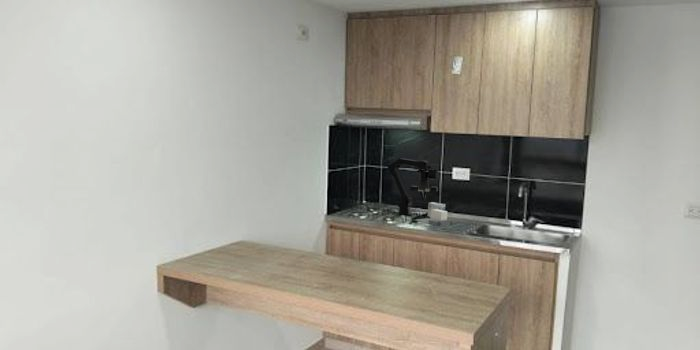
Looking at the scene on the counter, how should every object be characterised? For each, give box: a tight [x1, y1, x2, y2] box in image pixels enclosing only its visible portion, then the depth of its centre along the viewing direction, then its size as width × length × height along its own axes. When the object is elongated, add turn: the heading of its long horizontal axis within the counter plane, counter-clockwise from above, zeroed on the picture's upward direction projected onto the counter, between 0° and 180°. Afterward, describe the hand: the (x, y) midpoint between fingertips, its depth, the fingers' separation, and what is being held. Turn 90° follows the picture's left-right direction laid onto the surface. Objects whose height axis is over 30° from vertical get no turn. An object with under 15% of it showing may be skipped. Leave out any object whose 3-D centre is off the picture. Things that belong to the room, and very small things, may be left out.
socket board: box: [415, 217, 453, 227], centre depth 367 cm, size 22×14×4 cm, turn 40°
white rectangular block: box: [430, 209, 448, 221], centre depth 363 cm, size 9×6×9 cm, turn 40°
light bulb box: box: [427, 201, 446, 218], centre depth 387 cm, size 11×7×11 cm, turn 56°
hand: (423, 200), depth 379 cm, fingers closed
